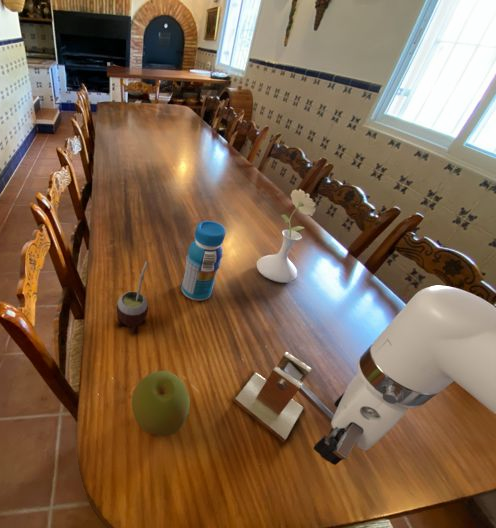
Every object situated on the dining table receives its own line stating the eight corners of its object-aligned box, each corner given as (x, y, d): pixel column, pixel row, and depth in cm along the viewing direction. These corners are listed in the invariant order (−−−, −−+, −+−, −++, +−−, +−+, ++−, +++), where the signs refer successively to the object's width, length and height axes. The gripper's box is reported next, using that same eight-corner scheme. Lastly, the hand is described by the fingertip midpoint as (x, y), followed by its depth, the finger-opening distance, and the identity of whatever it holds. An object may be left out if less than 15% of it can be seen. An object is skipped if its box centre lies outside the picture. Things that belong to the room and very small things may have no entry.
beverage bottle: (174, 292, 79) (186, 228, 66) (189, 276, 85) (203, 214, 72) (202, 307, 75) (220, 242, 63) (216, 289, 81) (235, 226, 68)
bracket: (301, 410, 56) (332, 374, 48) (283, 442, 52) (314, 408, 43) (253, 375, 61) (274, 336, 53) (233, 401, 57) (253, 364, 49)
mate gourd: (119, 337, 67) (120, 289, 57) (114, 311, 72) (113, 263, 63) (151, 332, 68) (157, 284, 59) (143, 307, 74) (147, 260, 65)
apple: (160, 380, 59) (166, 347, 52) (196, 419, 54) (208, 389, 47) (119, 412, 54) (120, 380, 47) (155, 459, 48) (162, 431, 41)
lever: (341, 420, 49) (353, 417, 47) (331, 443, 46) (344, 441, 44) (283, 361, 52) (292, 356, 50) (270, 379, 49) (280, 375, 48)
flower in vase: (301, 286, 84) (344, 208, 68) (262, 286, 83) (297, 206, 67) (282, 258, 94) (316, 184, 78) (248, 257, 93) (275, 182, 78)
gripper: (421, 450, 30) (342, 499, 41) (441, 351, 40) (373, 410, 51) (343, 398, 34) (289, 455, 45) (379, 319, 44) (328, 381, 55)
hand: (334, 431), depth 48 cm, fingers open, 9 cm apart
